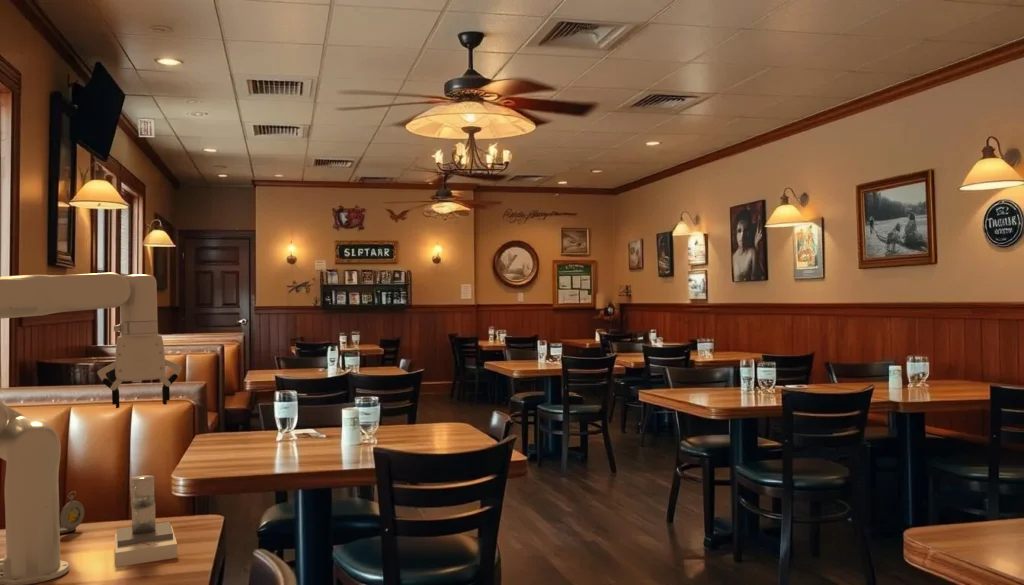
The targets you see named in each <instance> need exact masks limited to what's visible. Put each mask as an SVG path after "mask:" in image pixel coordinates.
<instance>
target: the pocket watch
mask: <svg viewBox="0 0 1024 585" xmlns="http://www.w3.org/2000/svg"><path fill="white" fill-rule="evenodd" d="M72 493H75V494H74V495H73V494H72ZM76 495H77V491H75V490H73V491H70V492H69V493H68V495H67V498H68V499H69V500H70V501H69V502H67V503H66V504H65V505H64V506H63V507H62V509H61V512H60V514H59V522H60V535H62V534H66V533H69V532H70V533H71V532H73V531H75V530H76V529H77V528H78V527H79V526H80V525H81V523H82V522H83V520H84V517H85V508H84V506H83V504H82V503H81V502H80V501H78V500H74V497H76Z"/></svg>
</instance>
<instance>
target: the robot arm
mask: <svg viewBox="0 0 1024 585" xmlns="http://www.w3.org/2000/svg"><path fill="white" fill-rule="evenodd" d="M157 285H158V283H157V280H156V277H155V276H154V275H151V274H127V275H121V274H119V273H117V272H101V273H100V272H99V273H82V274H81V273H79V274H63V275H62V274H60V275H56V274H54V275H52V274H51V275H50V274H24V275H23V274H22V275H8V276H7V275H6V276H3V275H1V276H0V319H13V318H26V317H38V316H46V315H51V314H57V313H64V312H65V313H66V312H76V311H78V312H79V311H87V310H88V311H89V310H90V311H91V310H103V309H113V308H114V309H115V308H118V307H119V308H120V323H119V324H117V325H113V332H117V333H120V334H121V335H119V336H117V338H116V344H115V356H114V357H115V359H114V360H115V361H114V362H111V363H110V364H108V365H106V366H104V367H102V368H101V369H99V370H98V371H97V372H96V374H97V375H98V378H99V379H100V381H102V383H103V384H104V385H105V386H106V387H107V388H109V389H110V391H111V400H112V401H111V402H112V405H115V409H119V408H120V389H119V387H120V385H121V384H122V383H123V382H136V381H140V382H141V381H151V380H159V381H160V382H161V383H162V386H161V389H162V390H161V392H162V393H161V394H162V396H161V397H162V404H163V405H168V402H167V401H170V400H171V395H170V394H171V393H170V391H171V390H170V387H171V385H172V384H173V383H174V382H175V381H176V380H178V377H179V375H180V374H181V372H182V370H183V366H182V365H180V364H177V363H175V362H172V361H171V360H168V359H166V356H165V355H166V354H165V353H166V352H165V346H164V339H163V337H162V334H159V327H158V325H159V324H158V295H157V294H158V291H157V290H158V289H157ZM166 367H168V368H170V369H173V371H172V373H171V375H170V376H169V377H168V378H167V377H166ZM113 370H114V371H115V372H114V374H115V378H116V379H114V381H113V382H112V381H111V380H110V379H109V378H108V376H107V373H109V372H111V371H113ZM61 450H62V446H61V441H60V437H59V435H58V432H56V429H55V428H54V427H52V426H51V425H49V424H47V423H46V422H43V421H40V420H36V419H32V418H30V417H28V416H26V415H24V414H22V413H21V412H19V411H17V410H15V409H14V408H11V407H9V405H6V404H5V403H4V402H3V401H2V400H1V399H0V459H2V460H4V461H6V462H5V463H6V465H5V467H6V468H5V476H4V510H5V511H4V512H5V548H6V550H5V552H6V553H5V555H4V557H2V558H1V557H0V584H1V585H32V584H38V583H43V582H47V581H50V580H54V579H56V578H59V577H61V576H63V575H66V573H67V572H68V571H69V570H70V563H69V562H67V561H65V560H61V534H60V525H61V523H60V494H59V493H60V492H59V491H60V490H59V471H60V462H61V453H62V451H61Z"/></svg>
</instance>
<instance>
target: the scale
mask: <svg viewBox="0 0 1024 585" xmlns="http://www.w3.org/2000/svg"><path fill="white" fill-rule="evenodd" d="M155 523H156V530H155V531H153V532H150V533H145V534H133V533H132V526H129V527H128V526H127V527H122V528H117V529H116V530H117V531H116V533H114V550H115V551H114V552H115V553H114V555H115V568H119V567H125V566H130V565H131V566H132V565H138V564H144V563H145V564H146V563H151V562H157V561H164V560H170V559H175V558H176V559H177V558H178V542H177V539H176V535H175V531H174V529H173V526H172V524H171V522H170V521H164V522H158V523H157V522H155Z"/></svg>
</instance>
